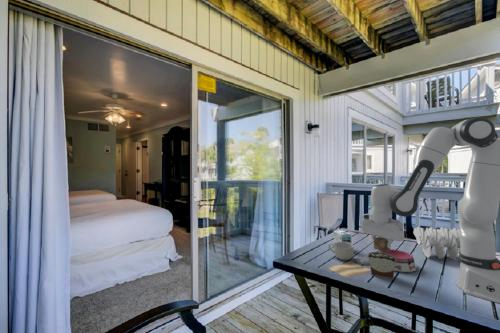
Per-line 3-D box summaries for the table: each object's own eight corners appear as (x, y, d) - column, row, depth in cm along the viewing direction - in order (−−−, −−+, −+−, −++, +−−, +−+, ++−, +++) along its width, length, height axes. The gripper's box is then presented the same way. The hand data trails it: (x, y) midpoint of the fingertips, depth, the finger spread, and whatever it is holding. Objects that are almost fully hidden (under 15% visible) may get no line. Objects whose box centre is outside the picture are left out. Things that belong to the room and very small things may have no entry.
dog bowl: (389, 257, 142) (389, 245, 142) (424, 268, 126) (424, 255, 126) (368, 263, 134) (368, 251, 134) (403, 276, 117) (403, 262, 117)
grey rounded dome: (376, 262, 134) (376, 260, 134) (368, 266, 129) (368, 264, 129) (361, 258, 141) (361, 256, 142) (352, 261, 136) (352, 259, 136)
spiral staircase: (473, 270, 133) (421, 264, 138) (456, 246, 148) (410, 242, 154) (484, 243, 125) (428, 238, 131) (465, 222, 140) (416, 218, 146)
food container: (397, 275, 118) (397, 254, 119) (397, 279, 113) (396, 258, 113) (369, 269, 125) (369, 250, 125) (367, 274, 120) (367, 253, 120)
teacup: (356, 258, 142) (356, 244, 142) (349, 263, 134) (349, 248, 134) (333, 252, 151) (333, 239, 151) (325, 257, 143) (325, 243, 143)
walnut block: (390, 249, 118) (390, 239, 118) (383, 251, 116) (383, 240, 116) (380, 247, 123) (380, 236, 123) (373, 248, 120) (373, 238, 120)
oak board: (373, 272, 124) (373, 270, 124) (347, 279, 116) (347, 278, 116) (350, 263, 136) (350, 261, 136) (326, 269, 128) (326, 267, 128)
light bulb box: (352, 251, 153) (351, 234, 153) (342, 252, 152) (341, 234, 152) (343, 246, 164) (342, 229, 164) (333, 246, 163) (333, 230, 163)
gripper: (407, 220, 112) (407, 251, 111) (367, 213, 130) (368, 239, 130) (398, 221, 109) (399, 253, 109) (359, 214, 127) (359, 241, 127)
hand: (381, 245), depth 119 cm, fingers closed on walnut block, 5 cm apart
